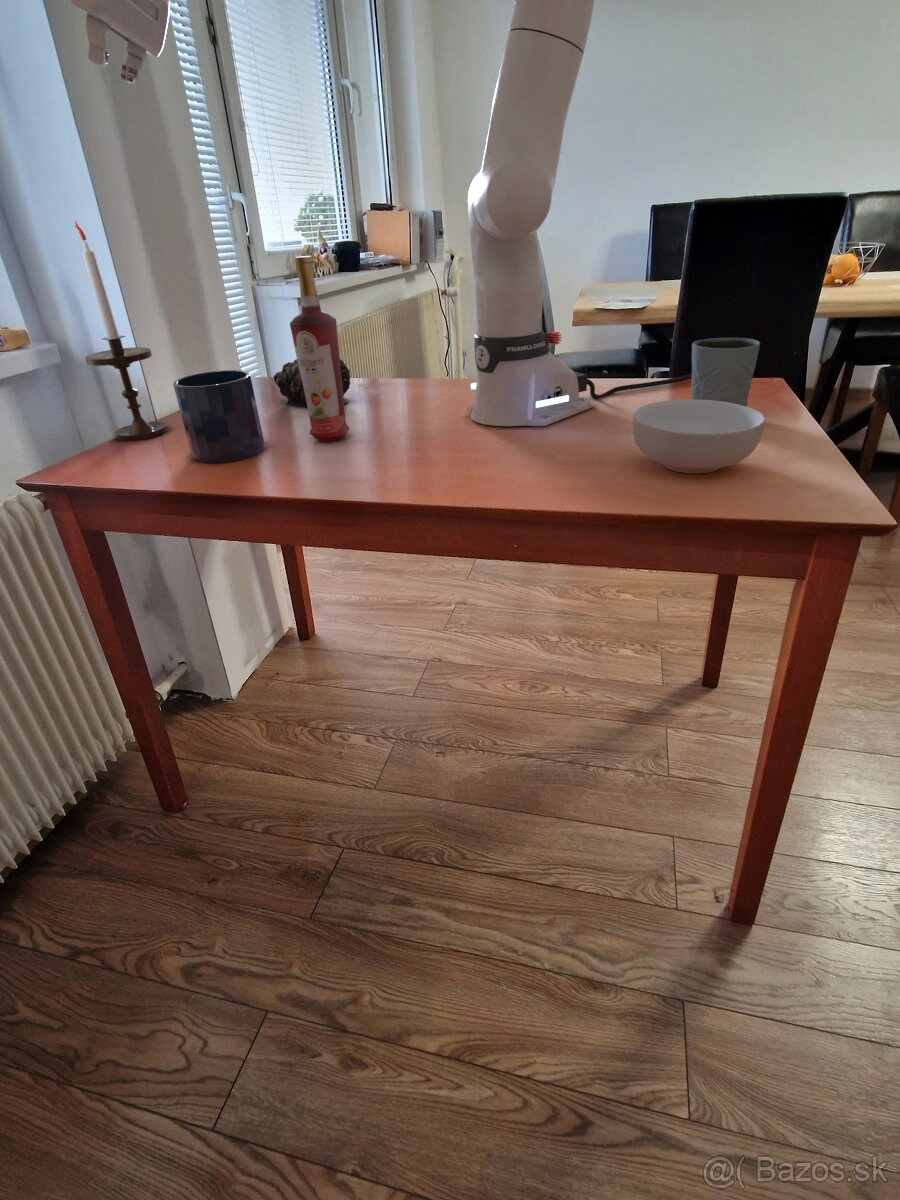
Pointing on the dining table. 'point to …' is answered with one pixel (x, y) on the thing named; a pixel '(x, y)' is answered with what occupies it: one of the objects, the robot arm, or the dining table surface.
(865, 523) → the dining table surface
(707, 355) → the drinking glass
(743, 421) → the cereal bowl
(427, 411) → the dining table surface
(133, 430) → the candlestick
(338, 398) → the liquor
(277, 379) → the pine cone
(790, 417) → the dining table surface
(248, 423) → the dark blue plant pot
